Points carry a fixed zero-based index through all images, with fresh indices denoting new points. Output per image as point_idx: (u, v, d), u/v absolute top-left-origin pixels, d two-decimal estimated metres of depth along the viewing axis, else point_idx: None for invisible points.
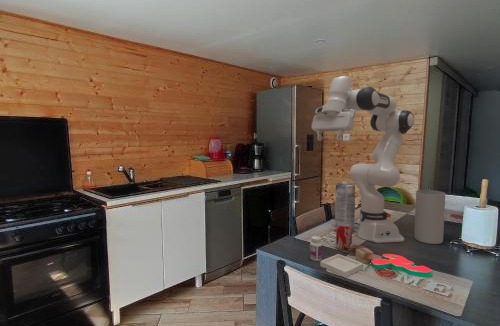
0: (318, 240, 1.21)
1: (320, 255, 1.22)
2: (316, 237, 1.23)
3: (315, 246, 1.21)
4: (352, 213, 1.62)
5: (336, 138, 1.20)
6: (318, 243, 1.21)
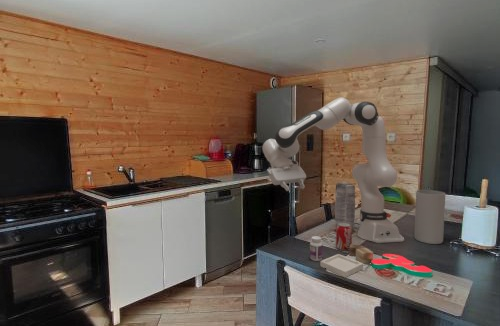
0: (318, 240, 1.21)
1: (320, 255, 1.22)
2: (316, 237, 1.23)
3: (315, 246, 1.21)
4: (352, 213, 1.62)
5: None
6: (318, 243, 1.21)
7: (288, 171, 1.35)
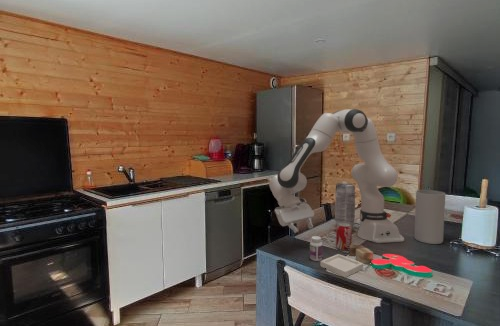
0: (318, 240, 1.21)
1: (320, 255, 1.22)
2: (316, 237, 1.23)
3: (315, 246, 1.21)
4: (352, 213, 1.62)
5: None
6: (318, 243, 1.21)
7: (296, 210, 1.33)
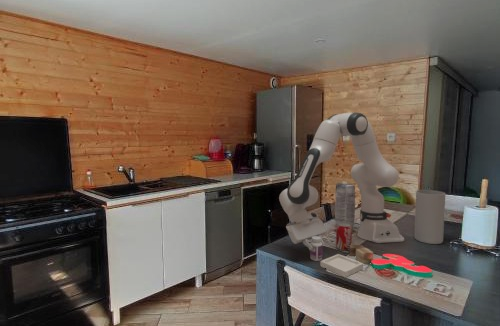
0: (318, 240, 1.21)
1: (320, 255, 1.22)
2: (316, 237, 1.23)
3: (315, 246, 1.21)
4: (352, 213, 1.62)
5: None
6: (318, 243, 1.21)
7: (308, 226, 1.27)
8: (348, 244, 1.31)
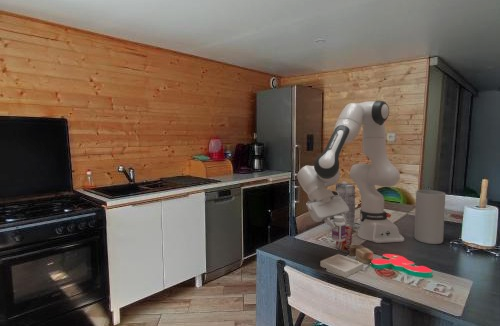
0: (341, 219, 1.13)
1: (343, 235, 1.13)
2: (338, 216, 1.15)
3: (338, 225, 1.13)
4: (352, 213, 1.62)
5: None
6: (341, 222, 1.13)
7: (329, 204, 1.19)
8: (348, 244, 1.31)
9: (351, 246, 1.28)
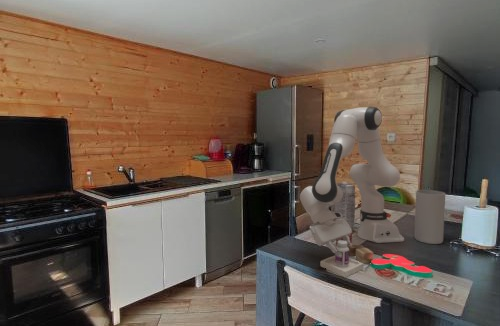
0: (345, 245, 1.13)
1: (347, 261, 1.13)
2: (342, 241, 1.15)
3: (341, 251, 1.12)
4: (352, 213, 1.62)
5: None
6: (344, 248, 1.13)
7: (332, 227, 1.18)
8: None
9: (351, 246, 1.27)
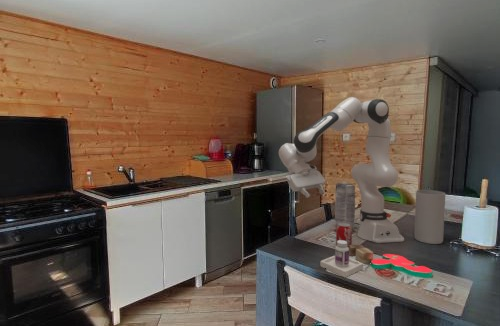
0: (344, 245, 1.13)
1: (347, 261, 1.13)
2: (342, 241, 1.15)
3: (341, 251, 1.12)
4: (352, 213, 1.62)
5: None
6: (344, 248, 1.13)
7: (307, 176, 1.31)
8: (348, 244, 1.31)
9: (351, 246, 1.27)
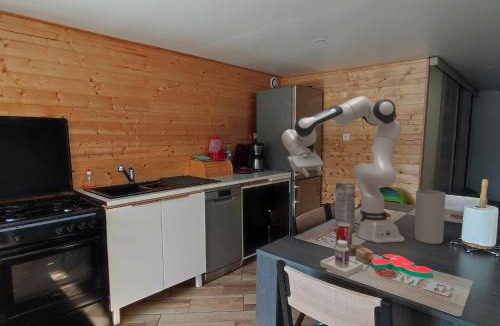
0: (344, 245, 1.13)
1: (347, 261, 1.13)
2: (342, 241, 1.15)
3: (341, 251, 1.12)
4: (352, 213, 1.62)
5: None
6: (344, 248, 1.13)
7: (307, 159, 1.45)
8: (348, 244, 1.31)
9: (351, 246, 1.27)
